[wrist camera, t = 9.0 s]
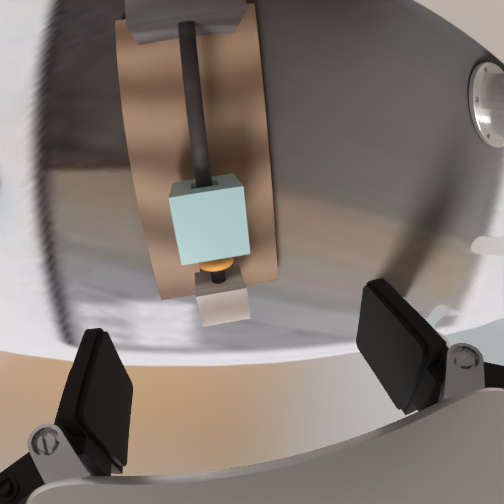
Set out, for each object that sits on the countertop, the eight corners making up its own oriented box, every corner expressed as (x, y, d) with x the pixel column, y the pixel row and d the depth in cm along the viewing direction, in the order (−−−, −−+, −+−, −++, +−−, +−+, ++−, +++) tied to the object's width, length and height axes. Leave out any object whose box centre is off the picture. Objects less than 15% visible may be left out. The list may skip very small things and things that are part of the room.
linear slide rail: (118, 25, 20) (97, -2, 13) (251, 8, 21) (271, -24, 14) (162, 292, 31) (158, 338, 24) (274, 272, 33) (296, 313, 26)
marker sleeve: (172, 182, 24) (168, 198, 19) (233, 173, 25) (243, 186, 20) (182, 239, 26) (181, 265, 22) (239, 230, 27) (250, 253, 22)
